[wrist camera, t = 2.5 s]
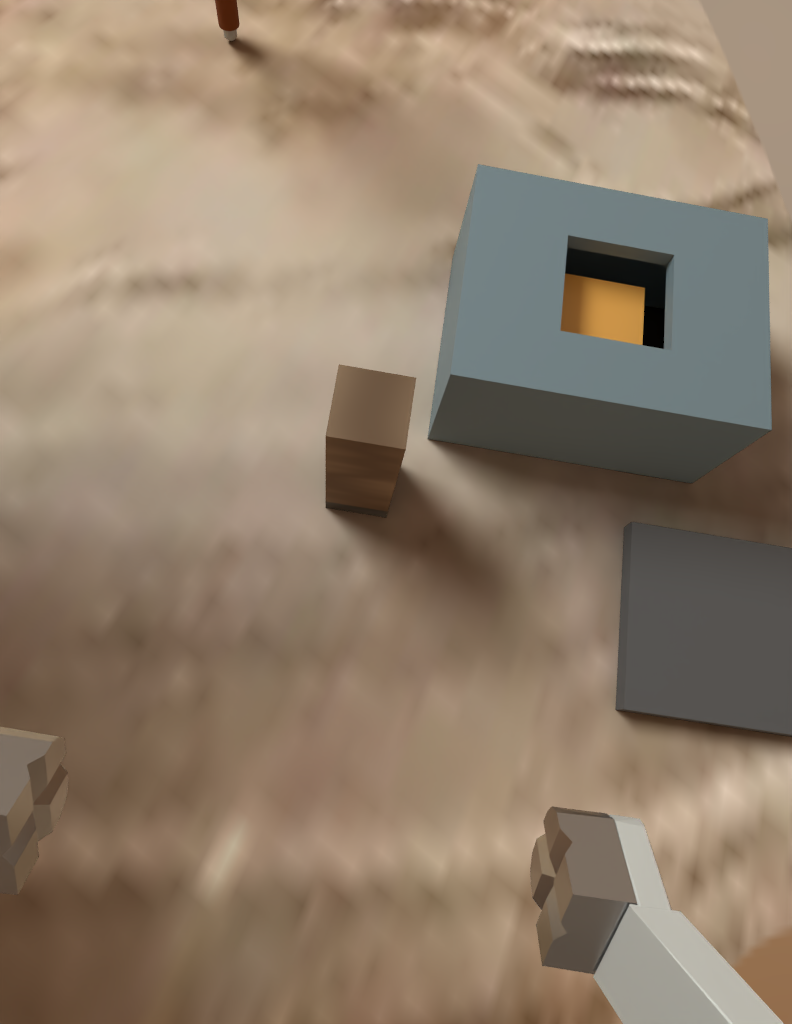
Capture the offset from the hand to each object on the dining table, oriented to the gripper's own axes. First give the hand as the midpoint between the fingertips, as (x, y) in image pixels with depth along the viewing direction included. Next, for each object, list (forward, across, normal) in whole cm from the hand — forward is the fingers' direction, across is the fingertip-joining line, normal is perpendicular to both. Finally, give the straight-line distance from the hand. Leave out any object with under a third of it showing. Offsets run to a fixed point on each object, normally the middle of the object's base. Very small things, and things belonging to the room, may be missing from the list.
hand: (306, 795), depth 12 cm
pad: (+21, -18, +9) cm, 29 cm away
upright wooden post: (+24, 0, +6) cm, 24 cm away
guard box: (+30, -10, 0) cm, 31 cm away
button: (+28, -10, -2) cm, 30 cm away
